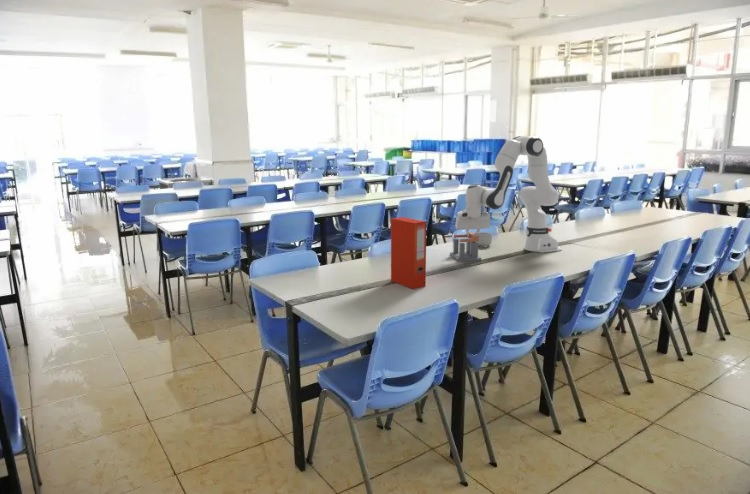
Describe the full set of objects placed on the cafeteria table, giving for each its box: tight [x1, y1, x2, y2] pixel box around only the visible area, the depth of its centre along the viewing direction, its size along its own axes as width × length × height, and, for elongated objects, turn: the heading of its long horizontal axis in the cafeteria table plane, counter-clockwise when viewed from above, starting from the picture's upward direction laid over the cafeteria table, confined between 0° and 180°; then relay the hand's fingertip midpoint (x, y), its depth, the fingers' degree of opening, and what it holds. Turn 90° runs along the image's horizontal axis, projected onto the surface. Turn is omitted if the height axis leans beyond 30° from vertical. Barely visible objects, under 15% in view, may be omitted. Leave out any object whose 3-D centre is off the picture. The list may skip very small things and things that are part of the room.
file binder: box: [390, 216, 427, 290], centre depth 255 cm, size 8×17×32 cm, turn 36°
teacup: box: [469, 231, 493, 247], centre depth 339 cm, size 14×11×8 cm
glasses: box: [453, 231, 479, 243], centre depth 307 cm, size 11×14×3 cm
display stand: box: [449, 238, 482, 262], centre depth 308 cm, size 14×17×11 cm
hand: (472, 236), depth 307 cm, fingers closed on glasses, 3 cm apart
